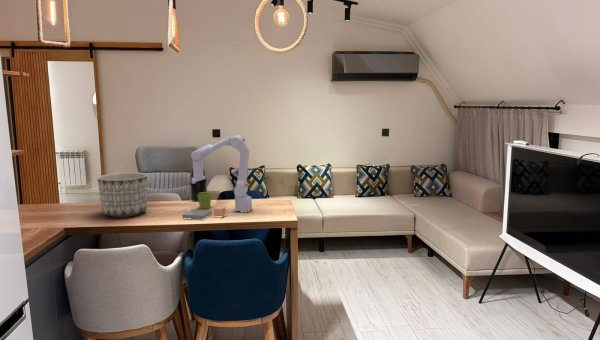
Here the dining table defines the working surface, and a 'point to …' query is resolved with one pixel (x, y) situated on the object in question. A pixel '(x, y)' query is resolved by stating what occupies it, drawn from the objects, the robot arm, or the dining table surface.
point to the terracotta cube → (219, 211)
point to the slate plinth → (197, 214)
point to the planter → (123, 193)
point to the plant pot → (204, 199)
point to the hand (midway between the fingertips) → (199, 193)
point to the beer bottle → (193, 196)
